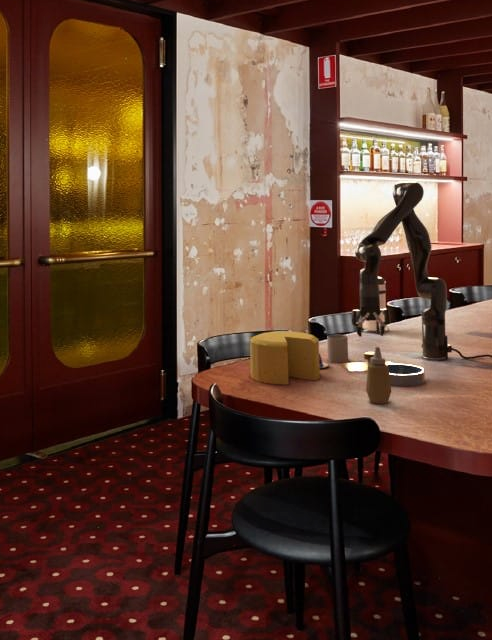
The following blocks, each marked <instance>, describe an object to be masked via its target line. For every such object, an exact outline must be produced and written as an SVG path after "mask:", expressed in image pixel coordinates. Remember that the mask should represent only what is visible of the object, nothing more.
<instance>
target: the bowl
mask: <svg viewBox="0 0 492 640" xmlns="http://www.w3.org/2000/svg"><path fill="white" fill-rule="evenodd" d="M386 365H387V366H388V369H389V377H390V384H391V387H392V386H393V387H415V386H420V385H423V384H424V383H425V381H426V379H425V378H426V377H425V369H424V368H423V367H421V366H417V365H413V364H405V363H394V364H386Z"/></svg>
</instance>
